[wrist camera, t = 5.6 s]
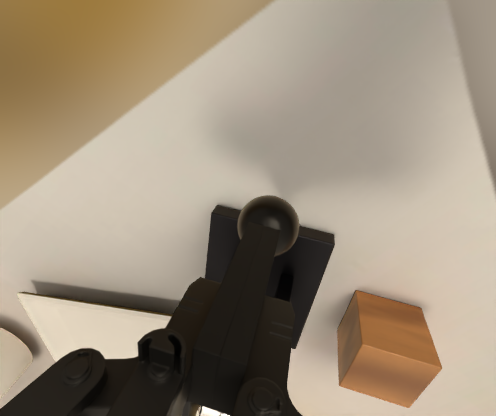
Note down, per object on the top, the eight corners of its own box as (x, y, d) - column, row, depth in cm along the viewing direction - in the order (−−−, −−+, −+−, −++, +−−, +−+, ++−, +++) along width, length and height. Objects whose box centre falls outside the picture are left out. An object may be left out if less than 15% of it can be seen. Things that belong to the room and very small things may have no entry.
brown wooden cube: (355, 289, 23) (361, 344, 19) (421, 307, 23) (443, 368, 18) (336, 330, 26) (338, 386, 22) (395, 347, 25) (409, 408, 21)
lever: (249, 188, 17) (240, 189, 14) (304, 201, 17) (307, 206, 13) (202, 391, 18) (183, 434, 15) (251, 408, 18) (243, 455, 15)
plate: (207, 409, 38) (201, 427, 36) (84, 381, 42) (73, 395, 40) (182, 302, 29) (173, 319, 27) (30, 280, 33) (13, 294, 31)
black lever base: (216, 204, 23) (127, 332, 12) (334, 234, 21) (340, 402, 11) (205, 310, 29) (139, 453, 19) (296, 337, 28) (278, 506, 17)
